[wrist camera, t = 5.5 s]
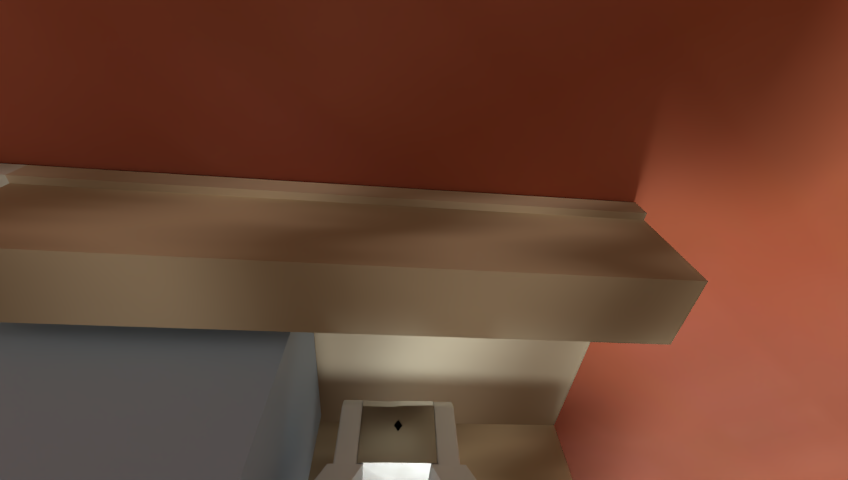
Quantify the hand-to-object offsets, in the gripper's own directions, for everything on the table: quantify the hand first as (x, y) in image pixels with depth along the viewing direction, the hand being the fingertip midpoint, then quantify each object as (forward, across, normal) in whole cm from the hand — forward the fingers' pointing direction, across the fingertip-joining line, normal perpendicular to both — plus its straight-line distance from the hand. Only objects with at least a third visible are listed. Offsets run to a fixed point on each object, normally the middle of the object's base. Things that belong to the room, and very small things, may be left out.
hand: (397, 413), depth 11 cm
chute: (+3, +5, 0) cm, 6 cm away
